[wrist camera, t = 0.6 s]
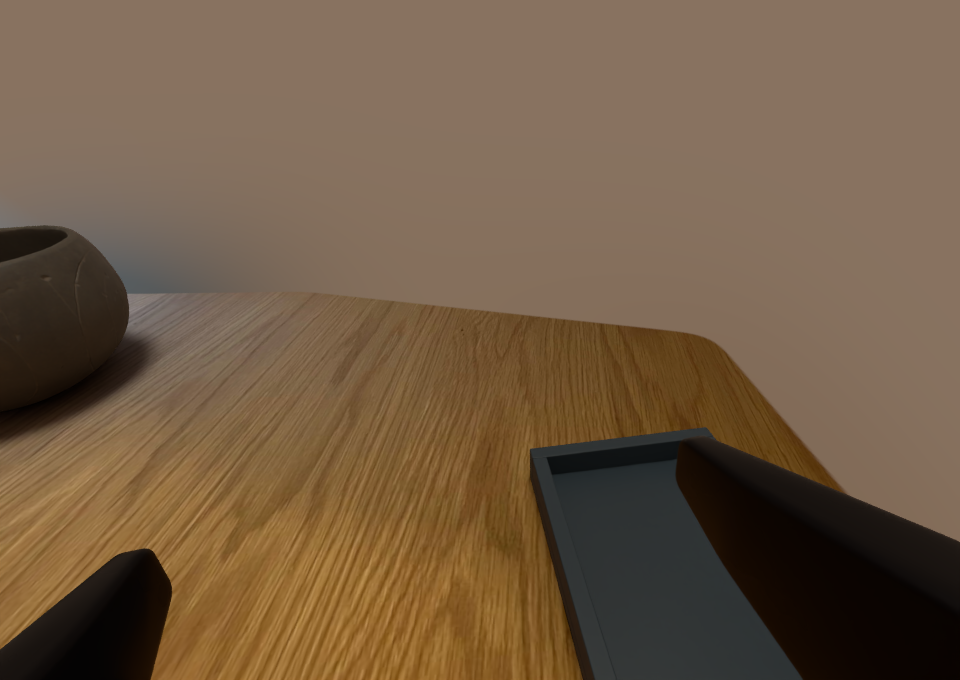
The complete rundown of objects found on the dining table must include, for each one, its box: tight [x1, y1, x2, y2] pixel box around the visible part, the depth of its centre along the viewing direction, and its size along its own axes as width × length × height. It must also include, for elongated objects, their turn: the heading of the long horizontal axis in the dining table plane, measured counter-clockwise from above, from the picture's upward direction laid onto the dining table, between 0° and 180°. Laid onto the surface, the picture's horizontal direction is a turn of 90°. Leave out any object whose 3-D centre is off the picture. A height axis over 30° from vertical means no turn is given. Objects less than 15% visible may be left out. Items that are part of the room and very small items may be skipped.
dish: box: [530, 427, 803, 680], centre depth 21 cm, size 14×11×2 cm
